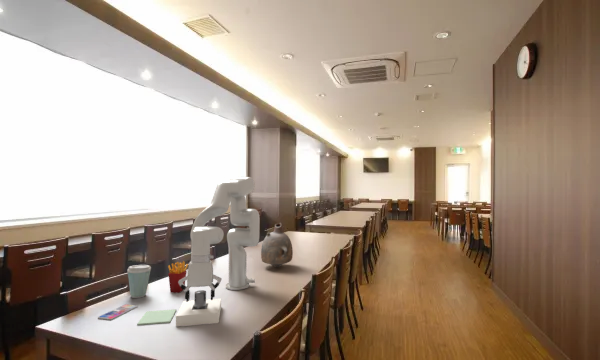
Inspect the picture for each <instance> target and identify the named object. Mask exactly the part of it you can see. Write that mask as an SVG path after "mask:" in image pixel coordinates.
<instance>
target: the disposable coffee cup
mask: <svg viewBox="0 0 600 360" xmlns="http://www.w3.org/2000/svg"><path fill="white" fill-rule="evenodd" d="M151 270H152V267H151V265H148V264H138V265H137V264H136V265H135V264H134V265H130V266H128V268H127V270H126V272H127V278H128V284H129V286H128V287H129V295H130V297H131V298H134V299H139V298H142V297H145V296H146V294H147V291H148V290H147V289H148V285H149V281H150V274H151Z"/></svg>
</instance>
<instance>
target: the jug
mask: <svg viewBox="0 0 600 360" xmlns="http://www.w3.org/2000/svg"><path fill="white" fill-rule="evenodd" d="M260 249H261V250H260V256H261V257H260V258H261V261H262V263H265V264H267V265H268V264H269V265H271V266H273V267H274V268H279V267H281V266H283V265H286V264H287V263H290V262H292V261H293V253H294V252H293V245H292V241H291V239H290V236H288V234H286V233H284V232H283V225H282V222H279V223H275V224H274V228H273V231H271V232H267V233H266V235H265V237H264V239H263V241H262V244H261V248H260Z"/></svg>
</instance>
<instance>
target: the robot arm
mask: <svg viewBox="0 0 600 360" xmlns="http://www.w3.org/2000/svg"><path fill="white" fill-rule="evenodd" d="M255 183H256V182H255V180H254V178H253V177H251V176H228V177H224V178H223V179H222V180H221V181H219V182H218V184H217V186H216V187H215V190H214V193H213V197H212V199H211V202H210V204H209V206H207V207H206V208H204V209H203V210H202V211H200V213H199V214H198V215H197V216H196V218H195V220H194V222H193V224H192V227H191V230H190V241H191V247H190V248H191V250H190V251H191V252H190V253H191V254H190V255H191V256H190V261H189V263H188V267H187V275H186V277H184V278H182V279H181V280H179V281H178V283H179V285H180V286H181V288H182V289H183V291H184V300H185V301H186V302H188V301H190V288H199V287H209V288H210V299H211V300H213V299H214V298H215V297H216V296H215V295H216V293H215V290H216V289H217V288H218V287H219V286H220V284H221V281H222V277H219V276H217V274H214V268H213V267H214V266H213V261H212V259H214V254H213V255H212V254H211V245H216V244H219V243H220V242H222V241H223V240H224V236H225V234H224V230H223V229H222V228H221V227H219V226H209V225H208V226H206V223H208V222H209V221H211V220H212V219H214V218H216V217H217V218H218V217H219V216H222V215H224V214H226V213H227V212H228V210H229V207H230V211H229V213H230V214H229V215H230V223H231V225H232V226H238V227H235V228H231V229H229V230H228V232H227V234H226V240H227V246H228V282H227V283H226V284H225V288H226V289H227V290H232V291H239V290H240V291H241V290H244V289H247V288H249V287H250V283H251V284H253V283H256V280H255V279H256V278H248V276H247V255H248V254H247V251H246V249H245V247H256V246H257V245H258V244H259V243H260V213H259V211H258V210H257V209H256V208H247V198H246V196H247V195H250V194H251V193H253V191H254V190H255ZM241 227H243V228H241ZM244 227H245V228H244ZM246 227H248V228H246ZM214 280H215V281H216V283H215V284H214ZM184 281H185V282H186V284H185V285H184V284H183V282H184Z"/></svg>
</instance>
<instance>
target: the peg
mask: <svg viewBox="0 0 600 360" xmlns="http://www.w3.org/2000/svg"><path fill="white" fill-rule="evenodd" d="M206 299H207V291H206V290H201V289H200V290H197V291H194V299H193V300H194V310H198V309H206Z"/></svg>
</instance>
